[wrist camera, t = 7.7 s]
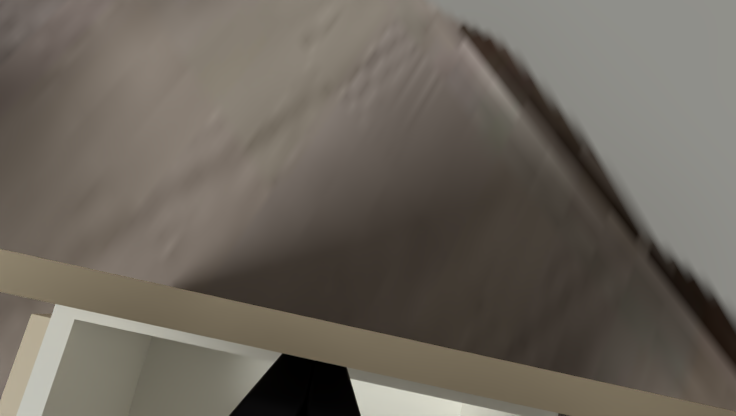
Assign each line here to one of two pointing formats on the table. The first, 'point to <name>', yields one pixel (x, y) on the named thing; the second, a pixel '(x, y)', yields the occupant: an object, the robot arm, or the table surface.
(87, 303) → the top flap
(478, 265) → the table surface
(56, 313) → the storage box
